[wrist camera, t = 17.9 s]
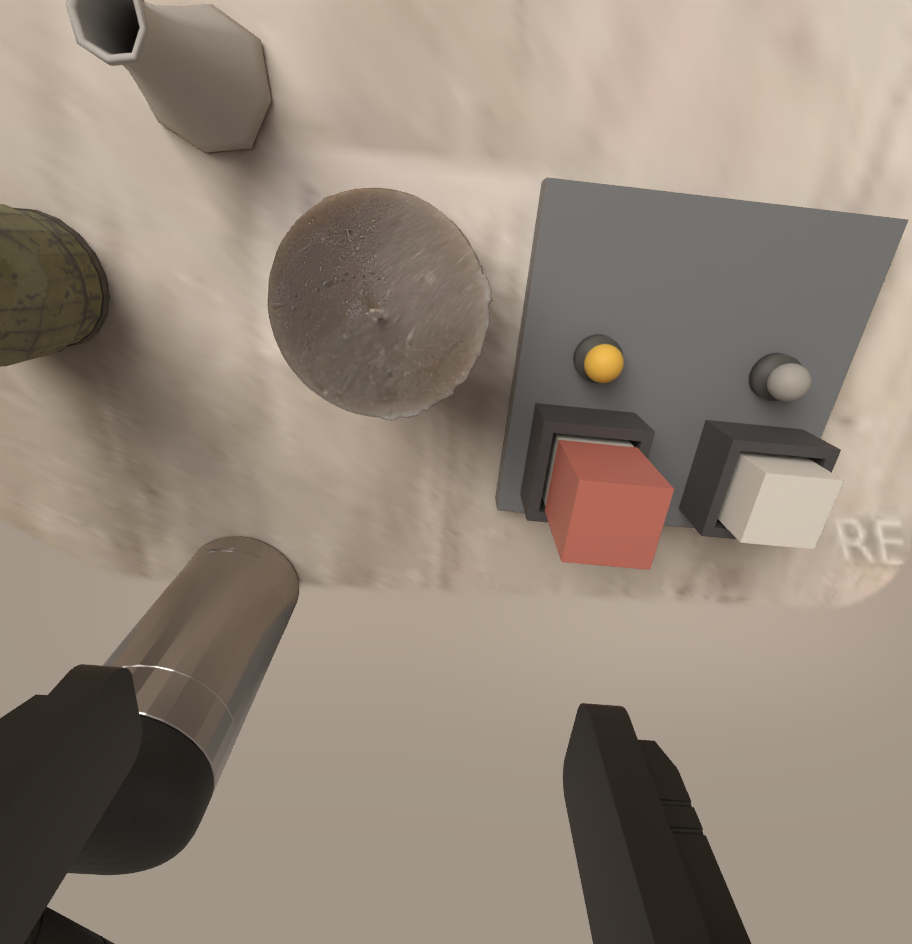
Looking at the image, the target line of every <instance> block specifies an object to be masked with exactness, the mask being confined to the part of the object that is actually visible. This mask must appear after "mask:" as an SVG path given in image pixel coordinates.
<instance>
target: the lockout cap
mask: <svg viewBox="0 0 912 944" xmlns="http://www.w3.org/2000/svg"><path fill="white" fill-rule="evenodd" d="M673 492H674V488H673V487H672V486H671V485H670V484H669V482H668V481H667V480H666V479H665V478H664V477H663V476H662V475H661V473H660V472H659V471H658V470H657V469H656V468H655V467H654V466H653V464H652V463H651V462H650V461H649V460H648V459H647V458H646V457H645V455H644V454H643V453H642V452H641V451H640V450H639V449H638V448H637V447H627V446H617V445H607V444H597V443H586V442H576V441H566V440H558V445H557V450H556V455H555V460H554V466H553V471H552V476H551V481H550V486H549V491H548V496H547V502H546V507H545V513H546V516H547V519H548V522H549V525H550V528H551V531H552V534H553V537H554V540H555V543H556V546H557V549H558V552H559V556H560V559H561V562H570V563H581V564H592V565H604V566H615V567H626V568H637V569H649V570H650V568H651V565H652V561H653V558H654V555H655V552H656V548H657V545H658V542H659V538H660V535H661V532H662V528H663V525H664V522H665V518H666V515H667V512H668V508H669V505H670V502H671V498H672V495H673Z"/></svg>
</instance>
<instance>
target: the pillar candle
mask: <svg viewBox="0 0 912 944" xmlns="http://www.w3.org/2000/svg"><path fill="white" fill-rule="evenodd" d="M491 301H493V300H492V299H491V288H490V284H489V281H488V279H487V277H486V275H484V274H483V269H482V266H481V265H480V264H479V260H478V258H477V256H476V254H475V252H474V250H473V248H472V247H471V245H470V243H469V241H468V240H467V239H466V237H465V236H464V234H463V233H462V232H461V230H460V229H459V228H458V227H457V226H456V224H455V223H454V222H453V221H452V220H450V219H449V218H448V217H447V216H445V215H444V214H443V213H442V212H441V211H439V210H438V209H436V208H435V207H434V206H432V205H431V204H429V203H428V202H426V201H424V200H422V199H420V198H418V197H416V196H414V195H411V194H408V193H405V192H401V191H397V190H392V189H385V188H363V189H354V190H349V191H345V192H341V193H338V194H336V195H333V196H329V197H326V198H324V199H323V200H322V201H321V202H320V203H318V204H317V205H315V206H314V207H312V208H311V209H310V210H309V211H308V212H306V213H305V214H304V215H303V216H301V217H300V218H299V219H298V220H297V221H296V222H295V224H294V225H293V226H292V227H291V229H290V230H289V232H288V233H287V234H286V236H285V237H284V239H283V240H282V242H281V244H280V246H279V248H278V250H277V252H276V256H275V259H274V262H273V266H272V269H271V271H270V276H269V291H268V313H269V318H270V323H271V327H272V330H273V334H274V337H275V340H276V342H277V344H278V346H279V349H280V351H281V353H282V355H283V357H284V358H285V360H286V361H287V363H288V365H289V366H290V367H291V369H292V370H293V371H294V372H295V374H296V375H297V376H298V377H299V378H300V379H301V380H302V382H303V383H304V384H305V385H306V386H307V387H308V388H309V389H311V390H312V391H314V392H315V393H316V394H318V395H319V396H321V397H322V398H324V399H325V400H327V401H328V402H330V403H332V404H334V405H336V406H338V407H340V408H342V409H345V410H346V411H350V412H353V413H356V414H360V415H366V416H372V417H380V418H383V419H386V420H395V419H397V418H399V417H403V418H406V417H408V418H409V417H412V416H417V415H418V414H420V413H421V411H423V410H429V408H430V407H431V406H433V405H435V404H437V403H438V402H440V401H441V400H443V399H444V398H447V397H450V395H453V394H454V389H455V388H456V387H458V385H460V384H462V383H463V382H464V381H465V380H466V379H467V378H468V375H469V373H470V371H471V369H472V368H473V367H474V365H475V363H476V361H477V359H478V357H479V356H481V354H482V349H483V345H484V342H485V340H486V333H487V330H488V326H489V303H490V302H491Z"/></svg>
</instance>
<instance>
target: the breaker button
mask: <svg viewBox="0 0 912 944" xmlns="http://www.w3.org/2000/svg"><path fill="white" fill-rule="evenodd" d="M843 482H844V480H842V479H841V478H839V477H838V476H836V475H834V474H833V473H831V472H829V471H828V470H826V469H825V468H823V467H821V466H820V465H818V464H816V463H815V462H813V461H812V460H810V459H808V458H807V457H799V456H789V455H778V454H768V453H757V452H747V451H740V454H739V457H738V460H737V463H736V466H735V469H734V472H733V475H732V478H731V481H730V484H729V487H728V490H727V492H726V495H725V498H724V501H723V504H722V507H721V510H720V513H719V516H718V519H719V520H720V522H721V523H722V524H723V525H724V526H725V527H726V528H727V529H728V530H729V531H730V532H731V533H732V534H733V535H734V536H735V537H736V538H737V539H738V541H739V542H740V543H751V544H762V545H773V546H784V547H796V548H807V549H814V548H815V546H816V544H817V541H818V539H819V537H820V535H821V532H822V530H823V528H824V525H825V523H826V521H827V519H828V516H829V514H830V512H831V509H832V507H833V505H834V503H835V500H836V498H837V496H838V493H839V491H840V489H841V486H842V484H843Z"/></svg>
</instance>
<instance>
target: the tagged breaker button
mask: <svg viewBox="0 0 912 944" xmlns="http://www.w3.org/2000/svg"><path fill="white" fill-rule="evenodd" d="M558 440H566V441H576V442H586V443H597V444H607V445H617V446H627V447H634V446H633V445H632V444H631V443H630V442H629V441H628V440H622V439H612V438H601V437H591V436H581V435H570V434H560V433H553V439H552V444H551V449H550V455H549V460H548V466H547V471H546V476H545V482H544V487H543V493H542V498H543V500H544V503H545V506H546V502H547V496H548V491H549V486H550V481H551V476H552V471H553V466H554V460H555V455H556V450H557V445H558Z"/></svg>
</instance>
